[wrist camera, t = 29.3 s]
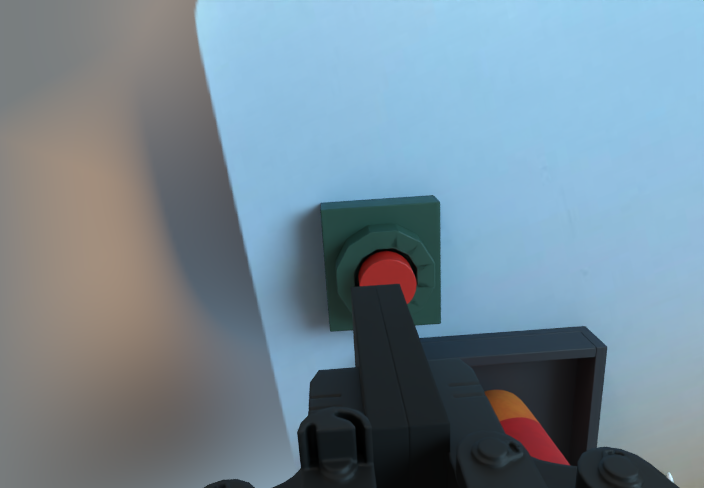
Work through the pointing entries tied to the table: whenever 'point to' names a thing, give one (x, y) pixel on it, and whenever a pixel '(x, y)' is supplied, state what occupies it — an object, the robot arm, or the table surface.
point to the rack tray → (539, 377)
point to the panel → (382, 235)
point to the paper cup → (524, 426)
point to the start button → (388, 272)
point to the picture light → (669, 477)
